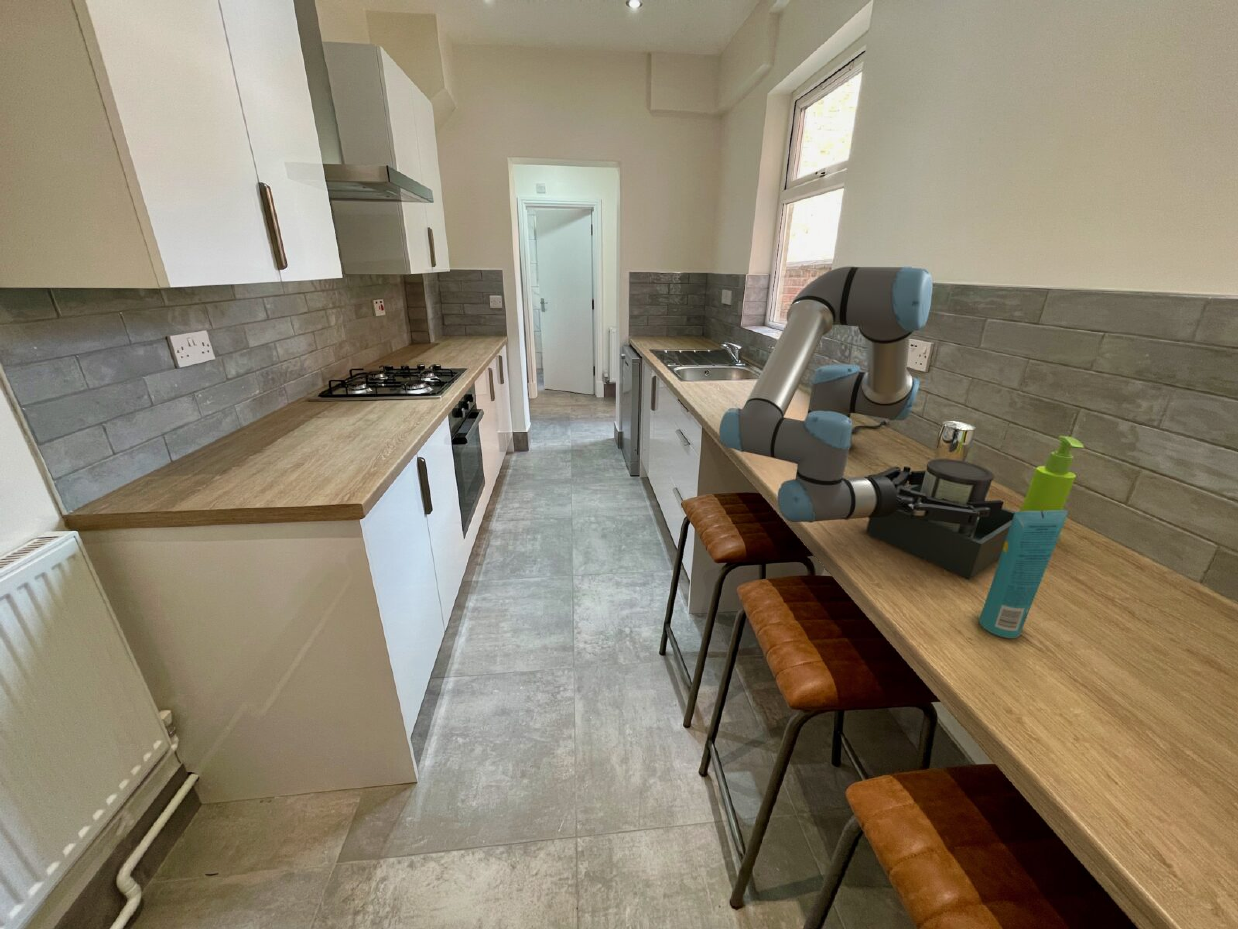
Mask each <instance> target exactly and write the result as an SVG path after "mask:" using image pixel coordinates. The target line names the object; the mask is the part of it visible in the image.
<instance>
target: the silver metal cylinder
mask: <svg viewBox="0 0 1238 929" xmlns="http://www.w3.org/2000/svg"><path fill="white" fill-rule="evenodd" d="M975 431H976V426H974V425H973V424H970V423H966V422H961V421H955V420H945V421H943V422H942V424H941V427H940V428H939V432H938V435H937V438H936V441H935V447H934V457H933V458H934V459H951V460H958V461H963V462H965V460H966V458H967V457H968V454H969V453H970V450H971V448H972V445H973V441H974V436H975ZM934 459H933V460H934Z"/></svg>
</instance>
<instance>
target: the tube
mask: <svg viewBox="0 0 1238 929" xmlns="http://www.w3.org/2000/svg"><path fill="white" fill-rule="evenodd" d="M1014 512H1015V514H1014V517H1013V520H1012V523H1011V526H1010V529H1009V532H1008V535H1007V538H1006V541H1005V544H1004V547H1003V550H1002V553H1001V556H1000V558H999V559H998V563H997V566H996V569H995V572H994V574H993V578H992V581H991V584H990V586H989V590H988V593H987V595H986V598H985V602H984V603H983V606H982V610H981V613H980V615H979V619H978V622H979V625H980V626H981V627H982V628H983V629H984V630H986V631H988V632H989V633H991V634H993V635H995V636H998V637H1001V638H1005V639H1016V638H1018V637H1020V635H1021V632H1022V630H1023V627H1024V625H1025V623H1026V621H1027V618H1028V615H1029V612H1030V609H1031V607H1032V605H1033V602H1034V600H1035V597H1036V595H1037V593H1038V590H1039V587H1040V585H1041V583H1042V580H1043V577H1044V575H1045V573H1046V569H1047V568H1048V565H1049V562H1050V560H1051V558H1052V555H1053V552H1054V550H1055V548H1056V545H1057V543H1058V540H1059V538H1060V536H1061V532H1062V530H1063V528H1064V525H1065V522H1066V520H1067V517H1068V514H1069V513H1068V510H1066V509H1065V510H1064V509H1063V510H1062V511H1021V510H1020V511H1017V510H1016V511H1014Z"/></svg>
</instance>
